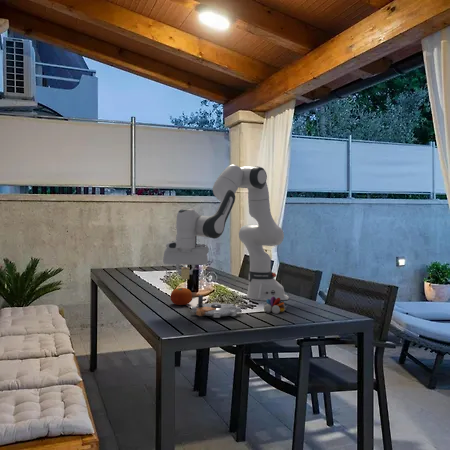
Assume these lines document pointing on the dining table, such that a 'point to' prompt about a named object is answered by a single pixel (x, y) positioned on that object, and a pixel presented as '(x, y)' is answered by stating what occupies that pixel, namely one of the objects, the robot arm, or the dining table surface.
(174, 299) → the fruit
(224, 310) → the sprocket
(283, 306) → the multicoloured rounded cluster
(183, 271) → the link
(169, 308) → the dining table surface
